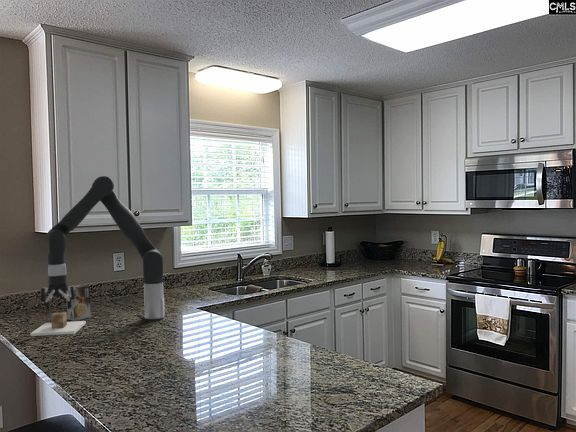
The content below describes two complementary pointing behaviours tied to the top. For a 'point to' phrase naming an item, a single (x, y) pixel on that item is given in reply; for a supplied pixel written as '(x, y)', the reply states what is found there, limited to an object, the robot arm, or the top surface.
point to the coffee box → (80, 303)
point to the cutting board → (58, 329)
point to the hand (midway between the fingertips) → (59, 309)
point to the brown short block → (59, 320)
